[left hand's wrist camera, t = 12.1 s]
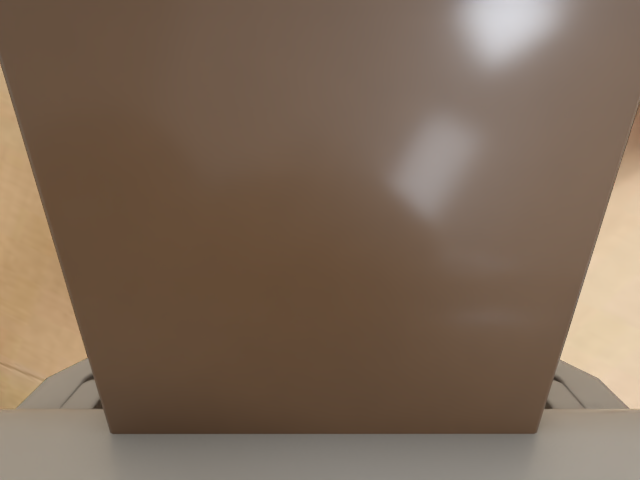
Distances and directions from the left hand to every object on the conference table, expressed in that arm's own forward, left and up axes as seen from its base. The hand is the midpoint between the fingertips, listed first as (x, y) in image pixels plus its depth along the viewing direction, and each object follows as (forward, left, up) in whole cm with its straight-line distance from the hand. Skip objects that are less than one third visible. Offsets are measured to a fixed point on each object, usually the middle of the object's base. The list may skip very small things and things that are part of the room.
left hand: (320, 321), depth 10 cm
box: (+10, +1, -4) cm, 10 cm away
